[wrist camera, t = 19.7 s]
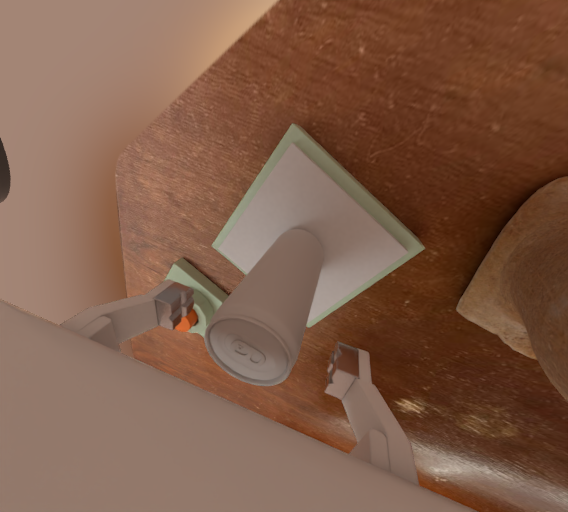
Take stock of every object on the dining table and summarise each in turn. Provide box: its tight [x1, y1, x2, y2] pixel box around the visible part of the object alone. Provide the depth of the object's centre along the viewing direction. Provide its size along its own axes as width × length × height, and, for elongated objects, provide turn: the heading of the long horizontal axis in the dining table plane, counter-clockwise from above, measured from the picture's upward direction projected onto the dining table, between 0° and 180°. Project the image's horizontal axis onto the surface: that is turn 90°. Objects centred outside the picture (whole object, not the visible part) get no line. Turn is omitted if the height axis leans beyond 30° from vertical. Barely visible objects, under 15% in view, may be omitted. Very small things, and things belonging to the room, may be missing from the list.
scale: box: [212, 123, 425, 328], centre depth 22 cm, size 15×15×3 cm
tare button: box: [175, 308, 198, 332], centre depth 29 cm, size 4×4×2 cm
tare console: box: [164, 258, 229, 337], centre depth 31 cm, size 11×9×4 cm
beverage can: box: [204, 229, 324, 386], centre depth 15 cm, size 5×5×12 cm
